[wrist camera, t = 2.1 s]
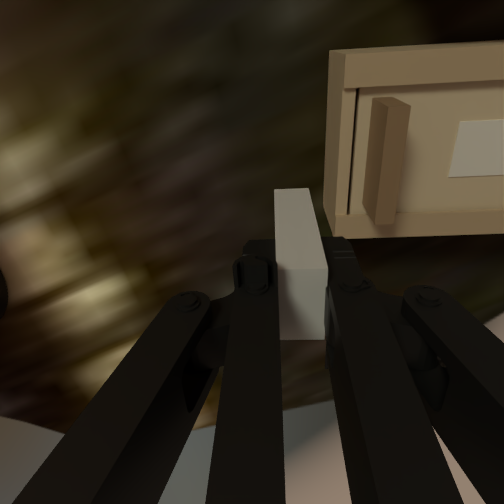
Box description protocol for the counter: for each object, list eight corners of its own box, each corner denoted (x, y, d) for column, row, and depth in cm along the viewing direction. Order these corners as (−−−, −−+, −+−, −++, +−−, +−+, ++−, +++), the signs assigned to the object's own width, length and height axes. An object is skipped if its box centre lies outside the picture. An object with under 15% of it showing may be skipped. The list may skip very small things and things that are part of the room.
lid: (347, 218, 28) (359, 244, 24) (359, 72, 23) (376, 79, 20) (541, 211, 27) (582, 237, 24) (595, 59, 22) (656, 63, 19)
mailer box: (323, 205, 33) (334, 239, 28) (329, 50, 27) (345, 54, 22) (512, 197, 32) (562, 231, 27) (561, 36, 26) (640, 36, 21)
